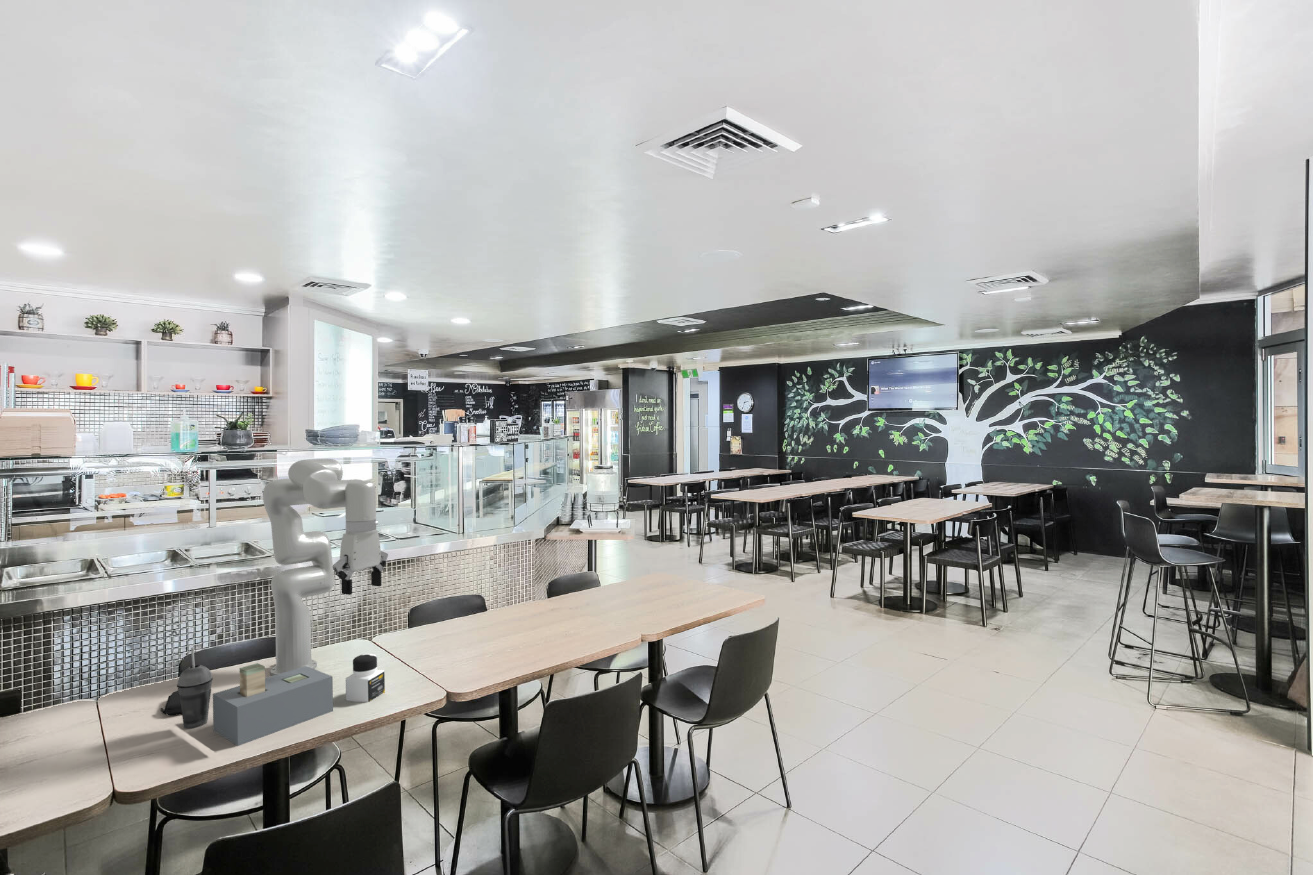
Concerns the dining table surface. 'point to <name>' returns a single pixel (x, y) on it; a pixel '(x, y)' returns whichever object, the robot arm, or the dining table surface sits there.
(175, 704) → the carrying case or bag
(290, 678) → the flush peg
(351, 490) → the robot arm
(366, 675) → the medicine bottle
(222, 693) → the socket block
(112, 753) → the dining table surface
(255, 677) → the proud peg
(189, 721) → the beverage cup
